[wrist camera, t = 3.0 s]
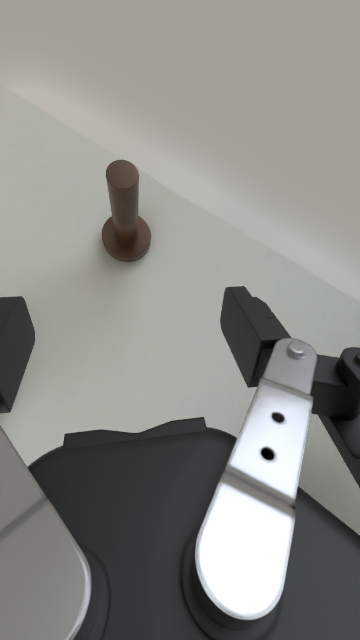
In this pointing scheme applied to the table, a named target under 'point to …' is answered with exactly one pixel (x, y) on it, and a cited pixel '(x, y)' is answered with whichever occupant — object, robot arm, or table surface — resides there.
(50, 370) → the table surface
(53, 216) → the table surface
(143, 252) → the wooden peg stand
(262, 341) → the robot arm
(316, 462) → the table surface
